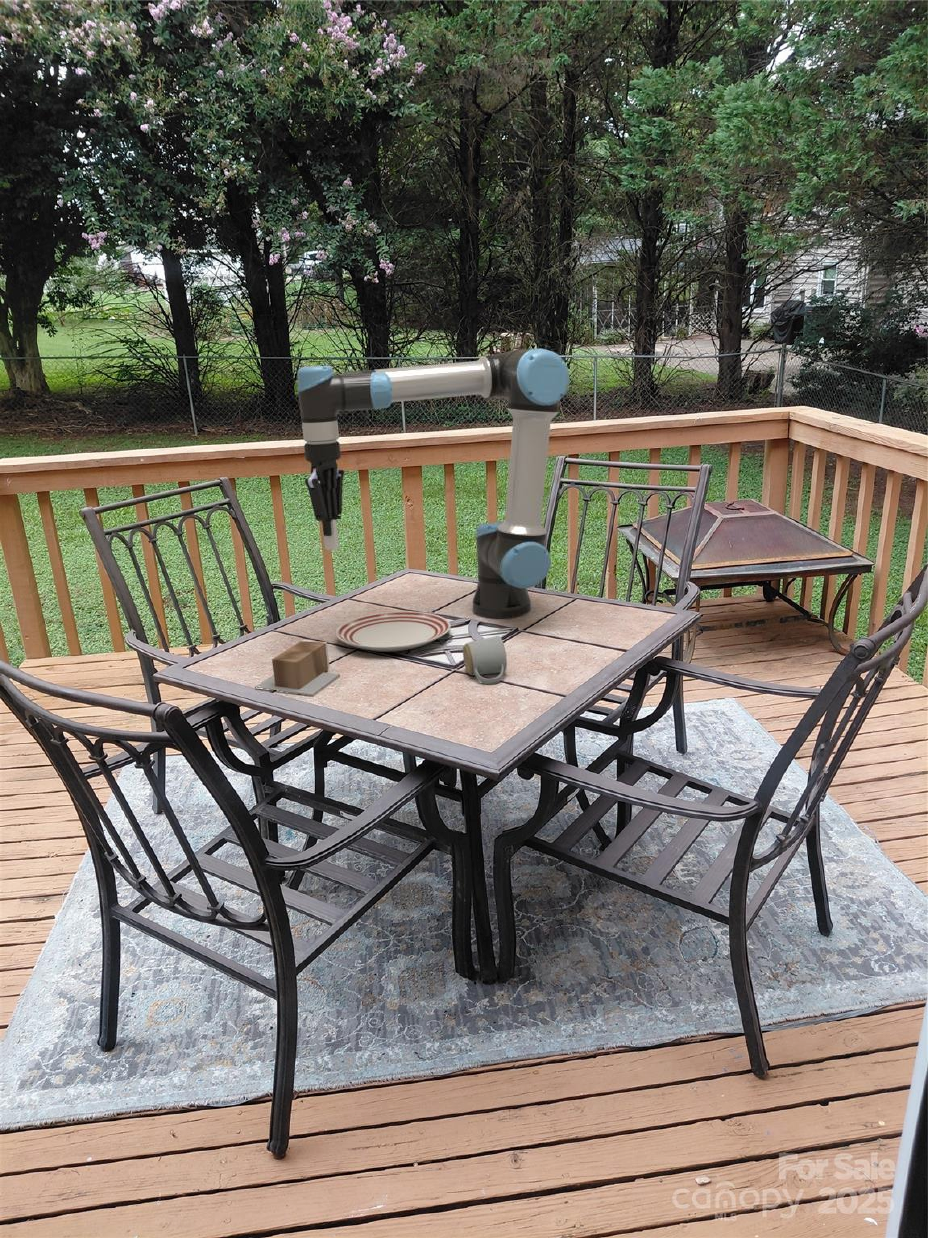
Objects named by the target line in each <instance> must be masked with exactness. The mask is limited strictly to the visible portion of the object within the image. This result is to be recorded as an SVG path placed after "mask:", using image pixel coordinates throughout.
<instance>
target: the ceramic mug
mask: <svg viewBox="0 0 928 1238" xmlns="http://www.w3.org/2000/svg"><path fill="white" fill-rule="evenodd" d="M462 655H463V656H462V657H463V662H464V667H465V670H466V673H467V674H469V675H470V676H475V678H477V680H478V681H479V682H481V683H482V684H486V685H495V684H497V683H499V682H500V681H501V680H502V679H503V677H504V673H505V672H507V668H508V667H507V666H508V664H507V663H508V662H507V661H508V660H507V652H506V648H505V644H504V640H503V639H502V637H501V636H500V635H495V636H492V637H487V638H481V639H476V640H472V641H469V642H467V643H465V644H464V646H463V648H462ZM489 674H492V675H493V674H498V675H497V676H496V677H493V678H486V677H483V676H482V675H489Z"/></svg>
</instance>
